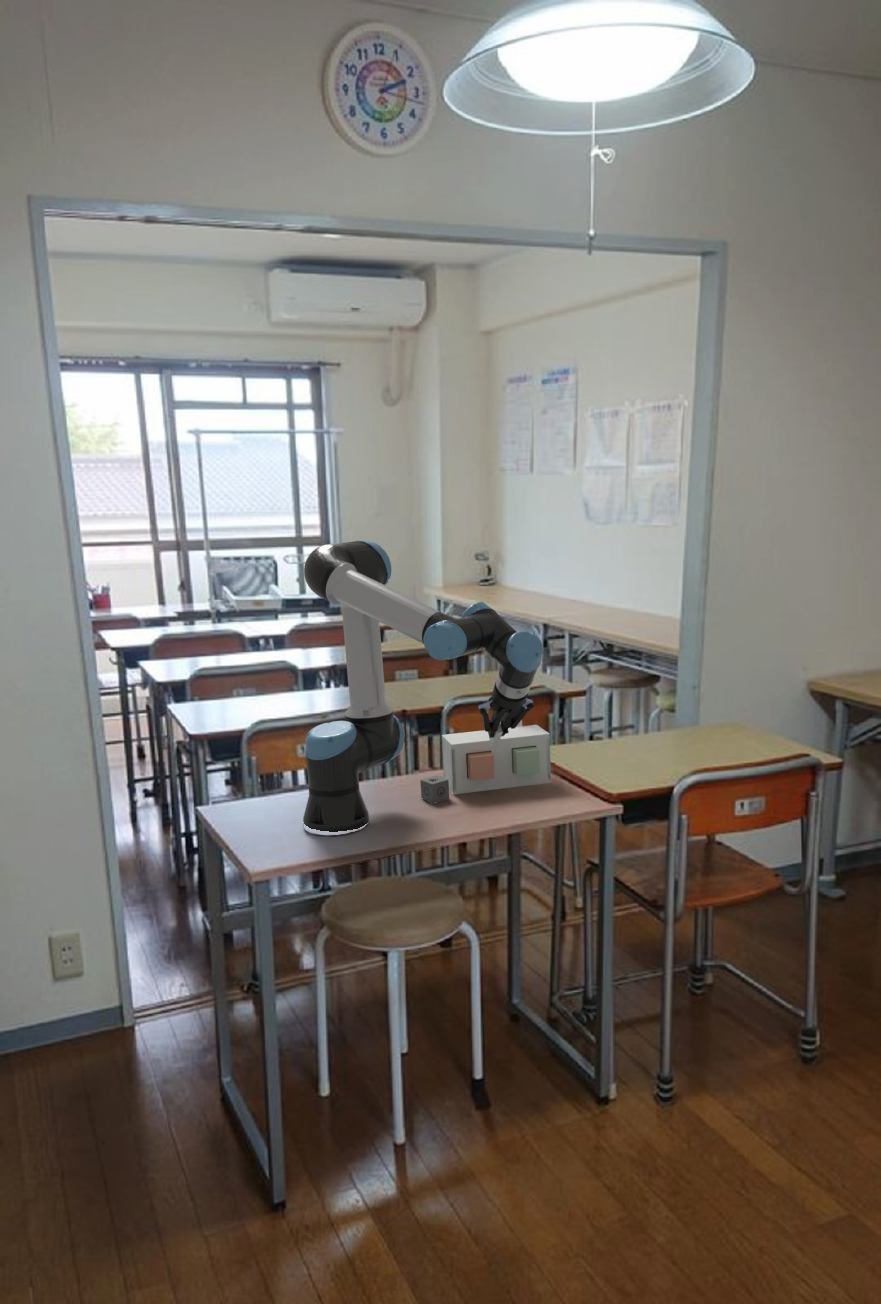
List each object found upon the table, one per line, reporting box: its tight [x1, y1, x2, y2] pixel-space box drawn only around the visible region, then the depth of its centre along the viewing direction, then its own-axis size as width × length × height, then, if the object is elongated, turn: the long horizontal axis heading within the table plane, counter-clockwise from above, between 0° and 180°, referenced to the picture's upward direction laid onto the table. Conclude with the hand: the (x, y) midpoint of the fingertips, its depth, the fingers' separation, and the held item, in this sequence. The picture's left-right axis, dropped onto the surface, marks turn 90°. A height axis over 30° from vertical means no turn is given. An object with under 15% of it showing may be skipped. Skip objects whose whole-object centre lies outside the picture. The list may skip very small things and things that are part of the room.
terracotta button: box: [466, 751, 494, 781], centre depth 231 cm, size 6×7×6 cm
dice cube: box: [419, 775, 450, 804], centre depth 227 cm, size 5×5×5 cm
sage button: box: [512, 746, 540, 775], centre depth 234 cm, size 6×7×6 cm
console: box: [441, 724, 552, 795], centre depth 237 cm, size 26×10×13 cm, turn 104°
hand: (493, 741), depth 217 cm, fingers closed
